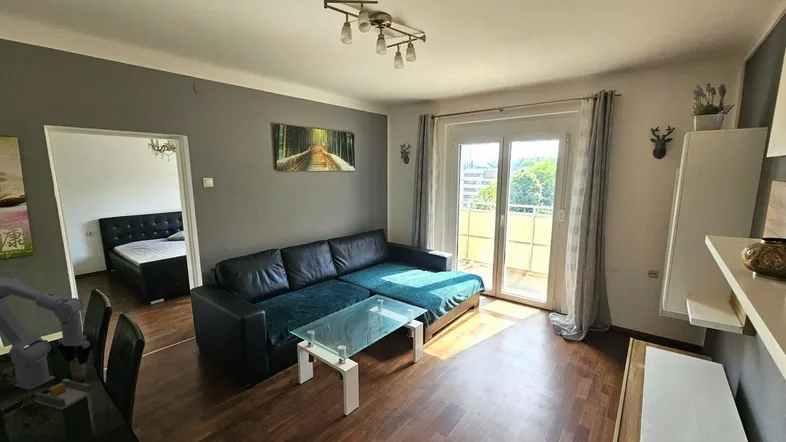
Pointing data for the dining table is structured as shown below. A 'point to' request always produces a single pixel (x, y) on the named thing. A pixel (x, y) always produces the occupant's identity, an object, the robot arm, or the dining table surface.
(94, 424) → the dining table surface
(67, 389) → the grey tray
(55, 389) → the block
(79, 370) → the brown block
